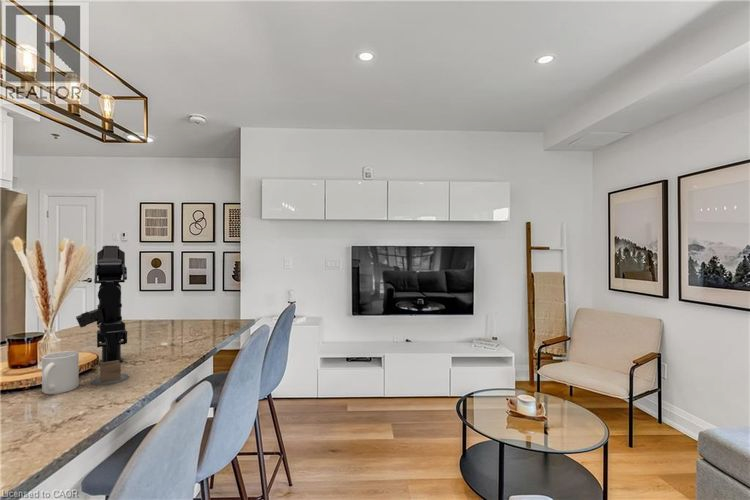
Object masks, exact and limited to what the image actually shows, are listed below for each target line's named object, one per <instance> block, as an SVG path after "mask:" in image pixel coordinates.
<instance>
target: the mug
mask: <svg viewBox="0 0 750 500" xmlns="http://www.w3.org/2000/svg"><path fill="white" fill-rule="evenodd" d="M79 357H80V356H79V351H76V350H65V351H64V350H63V351H56V352H51V353H48V354H45V355H43V356H42V357H41V391H42V393H44V394H45V395H59V394H64V393H68V392H70V391H74V390H75V389H76V388H78V387H79V384H80V383H79V377H80V374H79V373H80V372H79V366H80V365H79V364H80V363H79V362H80V361H79V360H80V359H79Z"/></svg>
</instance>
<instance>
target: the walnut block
mask: <svg viewBox="0 0 750 500" xmlns="http://www.w3.org/2000/svg"><path fill="white" fill-rule="evenodd" d="M121 364H122V362H120V361H119V360H116V361H109V362H103V363H101V362H100V363H99V367H100V369H99V375H100V380H101V383H104V382H109V381H115V380H120V379H121V374H122V366H121Z"/></svg>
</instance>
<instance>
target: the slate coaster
mask: <svg viewBox="0 0 750 500" xmlns="http://www.w3.org/2000/svg"><path fill="white" fill-rule="evenodd" d="M129 378H130V375H129V374H125V373H121V379H120V380H115V381H109V382H104V383H101V380H100V377H96V378H95V379H92V380H91V381H90V384H91V385H93V386H106V385H112V384H113V385H114V384H117V383H120V382H121V383H122V382H123V381H126V380H128V379H129Z"/></svg>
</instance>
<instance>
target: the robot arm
mask: <svg viewBox="0 0 750 500" xmlns="http://www.w3.org/2000/svg"><path fill="white" fill-rule="evenodd" d="M127 272H128V269H127V267H126V252H125V251H123V250H122V249H121V248H120V246H118V245H103V246H102V249H101V250H99V251H98V252H97V253H96V264H95V267H94V284H100V285H99V287H98V291H97V298H98V305H97V308H95V309H93V310H89V311H85V312H82V313H81V314H79V315H77V316H75V319H76V321H77V323H78V325H79V328H85V327H86V326H88V325H90V324H93V323H96V326H97V328H98V329H97V331H96V346H97V347H96V348H101V359H100V360H99V362H100V363H103V362H109V361H116V360H119V361H120V363H122V362H123V361H124V360H123V357H122V356H121V355H122V354H121V353H122V345H126V344H128V331H127V330H126V323H125V322H124V321H123V316H122V308H123V304H122V285H121V283H125V282H126V281H125V280H128V273H127Z"/></svg>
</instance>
